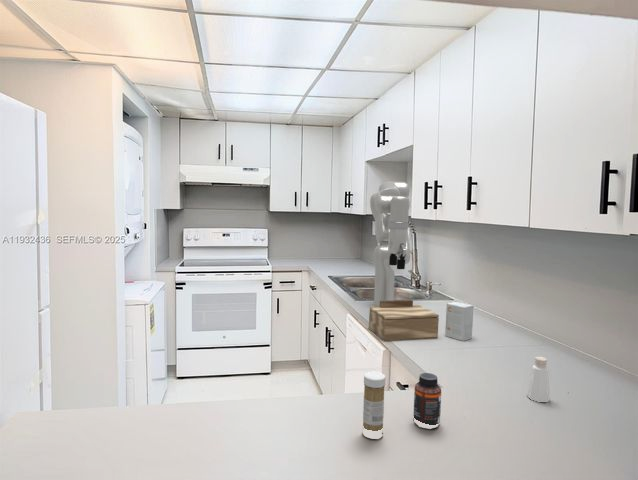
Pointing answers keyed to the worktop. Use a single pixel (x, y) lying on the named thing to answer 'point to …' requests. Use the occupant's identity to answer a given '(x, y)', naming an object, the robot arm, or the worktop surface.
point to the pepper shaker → (539, 381)
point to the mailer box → (403, 327)
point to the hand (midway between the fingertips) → (396, 267)
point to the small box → (459, 321)
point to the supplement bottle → (427, 399)
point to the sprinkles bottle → (373, 401)
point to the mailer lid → (402, 310)
